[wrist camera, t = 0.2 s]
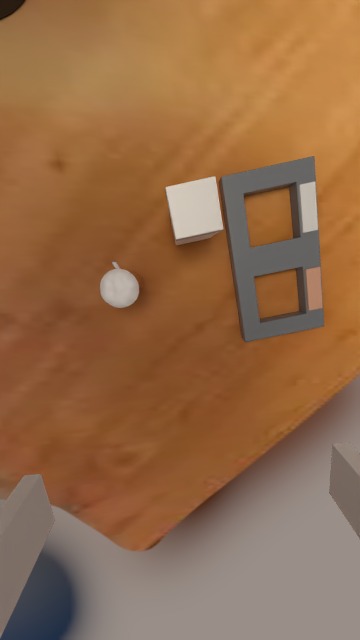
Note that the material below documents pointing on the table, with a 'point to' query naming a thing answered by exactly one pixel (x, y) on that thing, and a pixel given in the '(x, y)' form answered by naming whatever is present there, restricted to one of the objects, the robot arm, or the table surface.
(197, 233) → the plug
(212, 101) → the table surface
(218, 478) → the table surface
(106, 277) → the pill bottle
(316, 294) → the socket block
